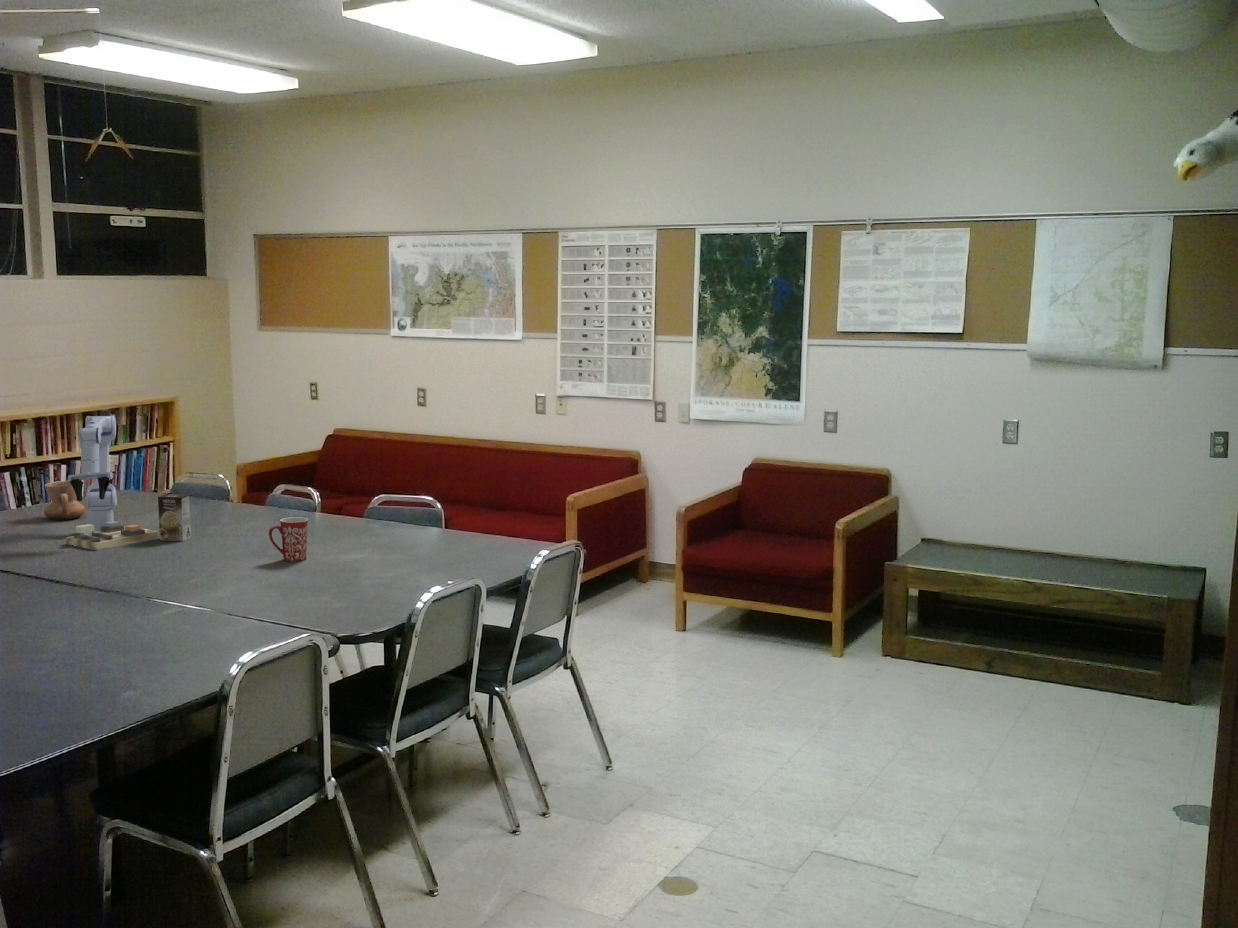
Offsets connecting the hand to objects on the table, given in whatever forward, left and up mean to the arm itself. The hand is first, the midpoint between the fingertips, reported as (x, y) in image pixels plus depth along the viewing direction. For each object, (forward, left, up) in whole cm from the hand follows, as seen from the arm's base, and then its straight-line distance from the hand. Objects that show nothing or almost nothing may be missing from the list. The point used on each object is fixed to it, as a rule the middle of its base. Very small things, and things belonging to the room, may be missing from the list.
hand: (90, 499), depth 378 cm
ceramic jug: (-54, +23, -16) cm, 61 cm away
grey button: (-7, +12, -12) cm, 18 cm away
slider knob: (-4, 0, -14) cm, 14 cm away
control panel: (-1, +8, -16) cm, 18 cm away
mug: (+74, +22, -16) cm, 79 cm away
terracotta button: (+5, +12, -12) cm, 18 cm away
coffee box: (+15, +22, -16) cm, 31 cm away
